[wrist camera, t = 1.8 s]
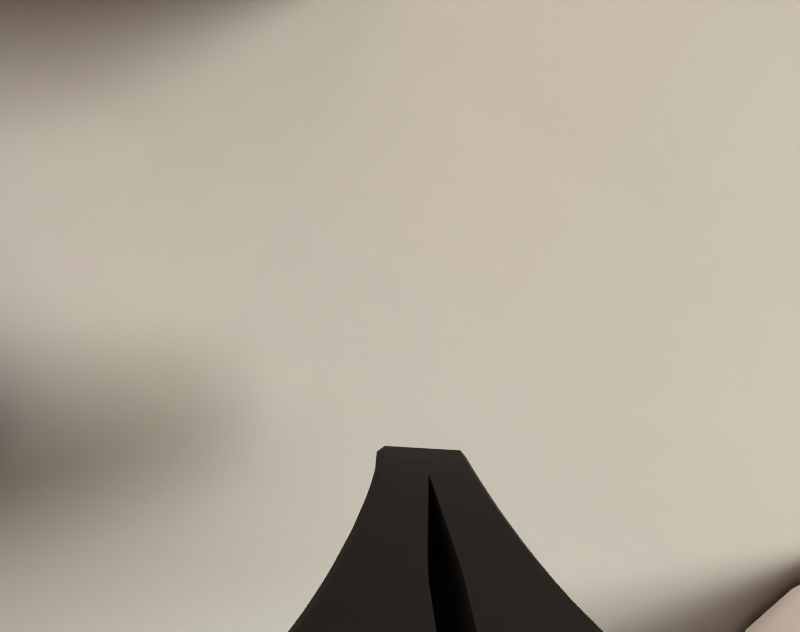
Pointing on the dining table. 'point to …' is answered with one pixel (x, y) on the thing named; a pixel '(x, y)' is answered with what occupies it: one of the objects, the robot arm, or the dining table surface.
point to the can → (780, 615)
